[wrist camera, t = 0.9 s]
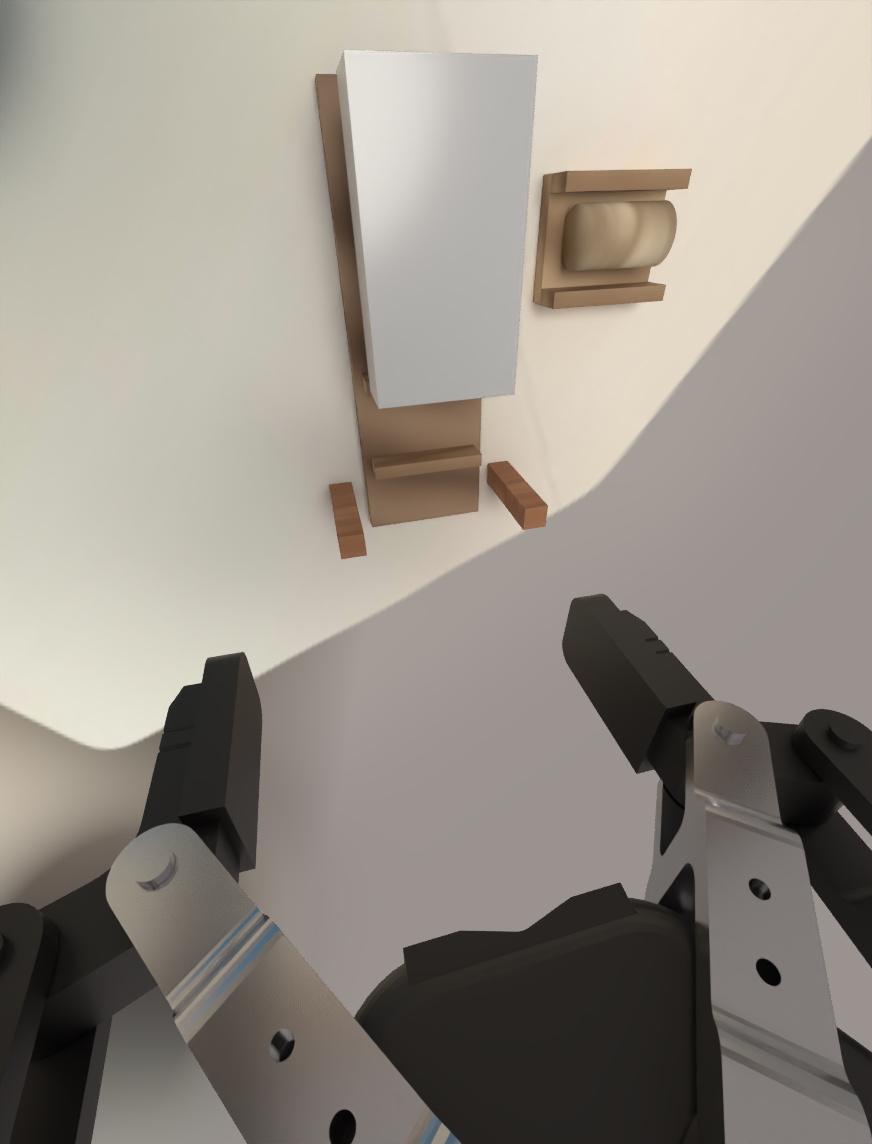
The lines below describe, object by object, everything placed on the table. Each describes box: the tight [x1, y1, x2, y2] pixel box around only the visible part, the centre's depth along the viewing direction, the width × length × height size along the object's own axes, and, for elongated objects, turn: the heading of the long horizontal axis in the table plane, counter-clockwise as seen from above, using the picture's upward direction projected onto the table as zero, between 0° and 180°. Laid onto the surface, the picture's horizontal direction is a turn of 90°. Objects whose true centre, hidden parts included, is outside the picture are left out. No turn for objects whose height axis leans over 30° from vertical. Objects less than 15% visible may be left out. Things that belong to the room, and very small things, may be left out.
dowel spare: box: [562, 200, 677, 271], centre depth 26 cm, size 3×5×3 cm, turn 92°
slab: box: [336, 50, 538, 409], centre depth 22 cm, size 12×7×3 cm, turn 1°
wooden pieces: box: [315, 74, 692, 559], centre depth 27 cm, size 23×21×7 cm
